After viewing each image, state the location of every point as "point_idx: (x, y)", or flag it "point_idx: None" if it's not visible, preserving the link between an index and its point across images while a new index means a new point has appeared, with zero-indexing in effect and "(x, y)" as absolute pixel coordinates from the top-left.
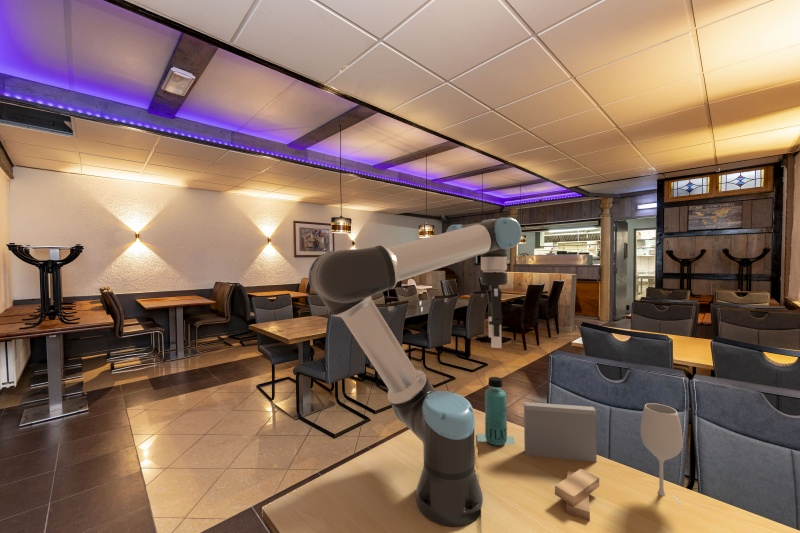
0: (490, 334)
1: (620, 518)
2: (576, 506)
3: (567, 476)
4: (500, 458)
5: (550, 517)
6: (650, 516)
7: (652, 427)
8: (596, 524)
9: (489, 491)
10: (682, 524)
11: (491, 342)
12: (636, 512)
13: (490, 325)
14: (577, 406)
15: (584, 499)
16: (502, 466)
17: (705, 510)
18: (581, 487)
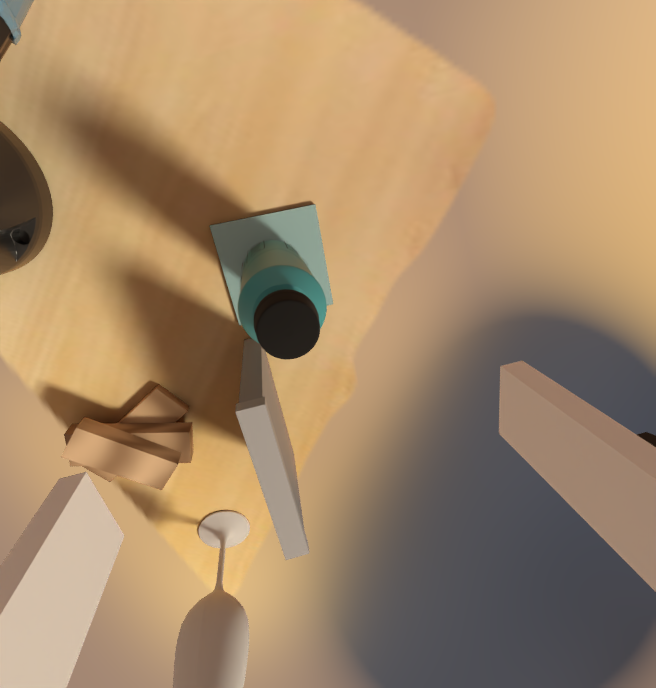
0: (517, 394)
1: (136, 484)
2: None
3: (167, 433)
4: (219, 284)
5: (64, 395)
6: (168, 515)
7: (178, 664)
8: None
9: (66, 279)
10: (173, 543)
11: (30, 521)
12: (167, 501)
13: (598, 458)
14: (295, 526)
15: None
16: (186, 293)
17: (225, 565)
18: (104, 466)
